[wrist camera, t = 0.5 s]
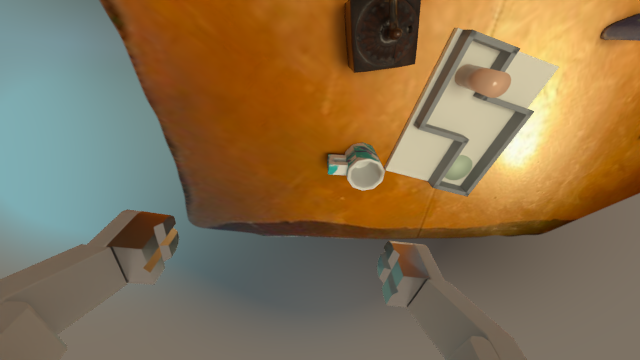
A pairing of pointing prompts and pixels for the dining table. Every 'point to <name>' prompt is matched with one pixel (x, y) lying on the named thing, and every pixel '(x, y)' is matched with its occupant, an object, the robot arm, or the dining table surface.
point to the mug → (358, 166)
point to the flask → (623, 29)
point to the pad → (459, 168)
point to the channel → (467, 112)
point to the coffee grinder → (381, 33)
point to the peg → (483, 80)
